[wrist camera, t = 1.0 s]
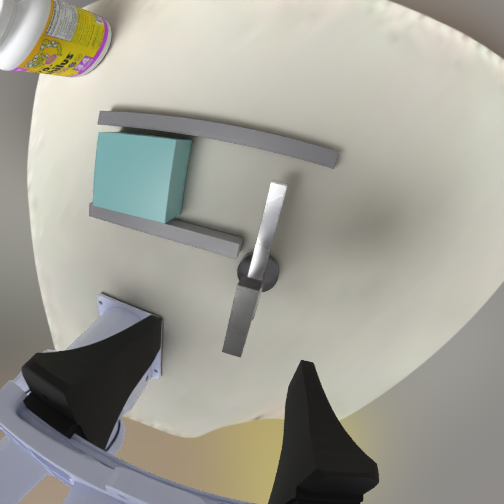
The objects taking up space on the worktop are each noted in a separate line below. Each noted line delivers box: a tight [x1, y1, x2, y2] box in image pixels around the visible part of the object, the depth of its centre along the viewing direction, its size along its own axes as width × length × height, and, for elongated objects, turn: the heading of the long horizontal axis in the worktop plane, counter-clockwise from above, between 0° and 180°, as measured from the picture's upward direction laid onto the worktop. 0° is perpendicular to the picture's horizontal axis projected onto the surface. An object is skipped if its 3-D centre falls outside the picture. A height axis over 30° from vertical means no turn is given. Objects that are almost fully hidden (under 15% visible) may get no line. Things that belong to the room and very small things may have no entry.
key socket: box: [237, 252, 279, 292], centre depth 22 cm, size 3×3×1 cm
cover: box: [93, 132, 192, 223], centre depth 20 cm, size 6×7×3 cm
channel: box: [89, 111, 338, 259], centre depth 20 cm, size 9×19×2 cm, turn 77°
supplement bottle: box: [0, 0, 111, 77], centre depth 12 cm, size 7×7×13 cm
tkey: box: [222, 180, 288, 357], centre depth 18 cm, size 10×1×7 cm, turn 167°
